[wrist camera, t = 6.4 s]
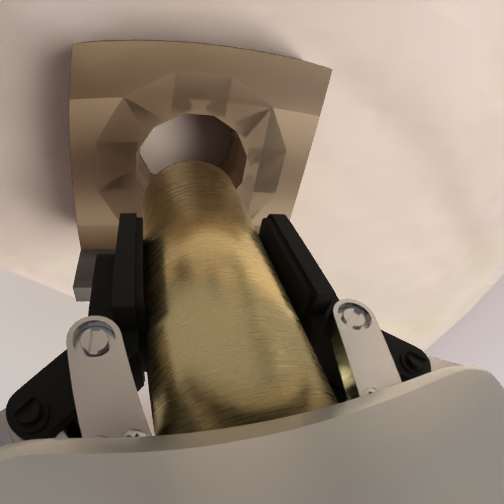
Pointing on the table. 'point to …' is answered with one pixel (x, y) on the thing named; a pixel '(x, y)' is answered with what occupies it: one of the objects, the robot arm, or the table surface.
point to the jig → (171, 105)
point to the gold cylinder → (218, 312)
